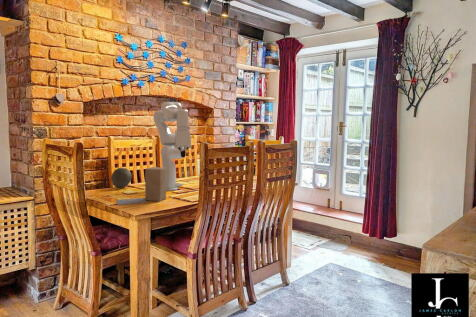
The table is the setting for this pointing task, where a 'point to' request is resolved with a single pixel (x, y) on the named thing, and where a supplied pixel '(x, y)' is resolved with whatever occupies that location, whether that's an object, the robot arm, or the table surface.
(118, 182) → the dark grey ball
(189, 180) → the table surface
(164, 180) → the wooden block
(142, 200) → the mat
